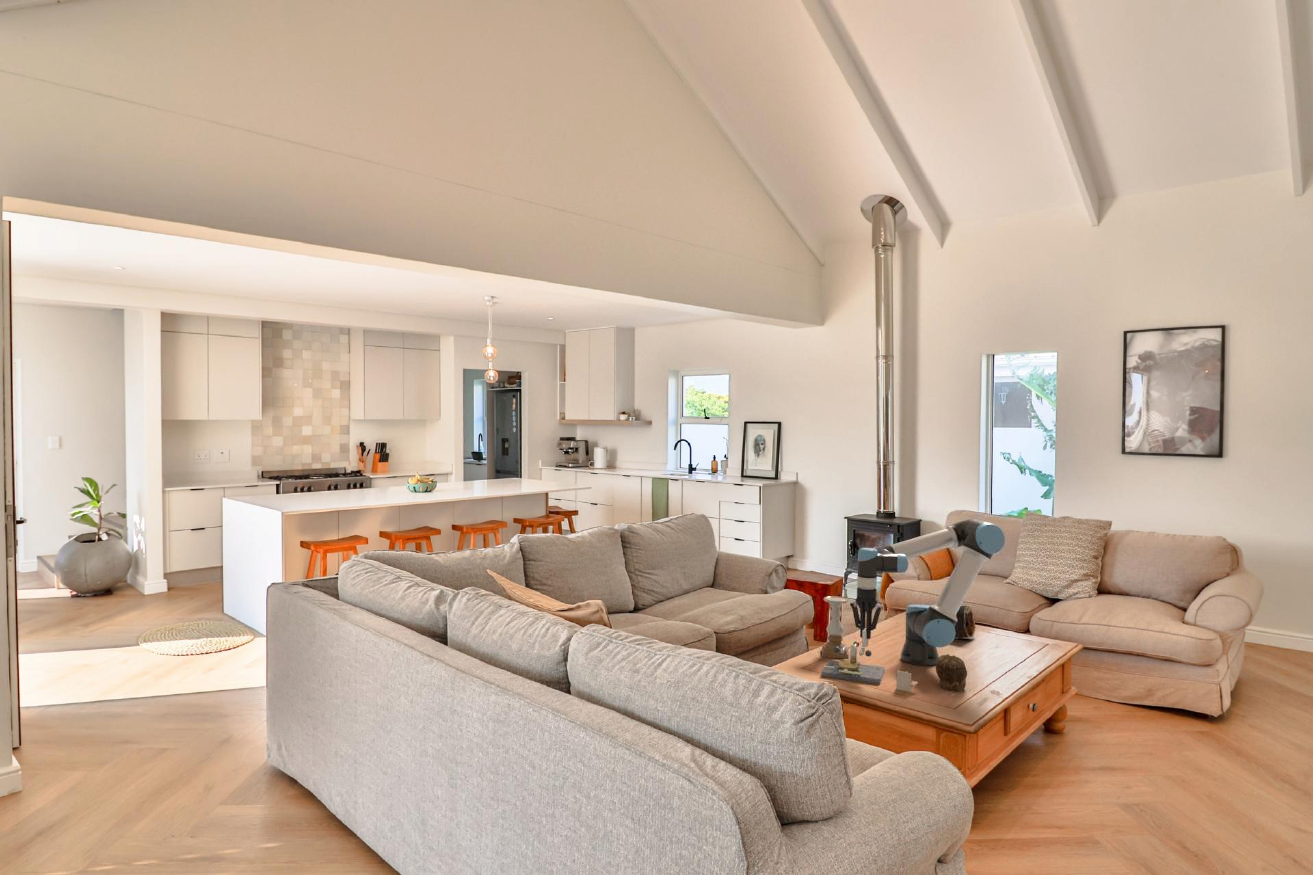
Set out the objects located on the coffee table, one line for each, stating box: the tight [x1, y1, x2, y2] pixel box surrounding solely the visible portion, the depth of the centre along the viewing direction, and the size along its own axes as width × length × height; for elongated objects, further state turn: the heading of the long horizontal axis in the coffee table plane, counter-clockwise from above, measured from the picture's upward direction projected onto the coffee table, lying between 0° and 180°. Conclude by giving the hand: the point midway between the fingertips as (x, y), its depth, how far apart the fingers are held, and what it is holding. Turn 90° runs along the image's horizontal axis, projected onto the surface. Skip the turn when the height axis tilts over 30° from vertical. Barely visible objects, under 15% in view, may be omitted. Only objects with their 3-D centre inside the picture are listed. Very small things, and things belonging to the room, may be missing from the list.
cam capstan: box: [833, 640, 872, 671], centre depth 309 cm, size 14×14×9 cm
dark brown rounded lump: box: [935, 653, 968, 693], centre depth 293 cm, size 11×11×12 cm
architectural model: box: [895, 669, 919, 693], centre depth 291 cm, size 3×7×7 cm, turn 48°
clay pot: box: [954, 605, 976, 640], centre depth 366 cm, size 15×15×25 cm
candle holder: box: [821, 595, 850, 660], centre depth 334 cm, size 11×11×24 cm
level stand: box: [820, 659, 885, 686], centre depth 308 cm, size 22×16×4 cm
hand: (865, 646), depth 311 cm, fingers closed
